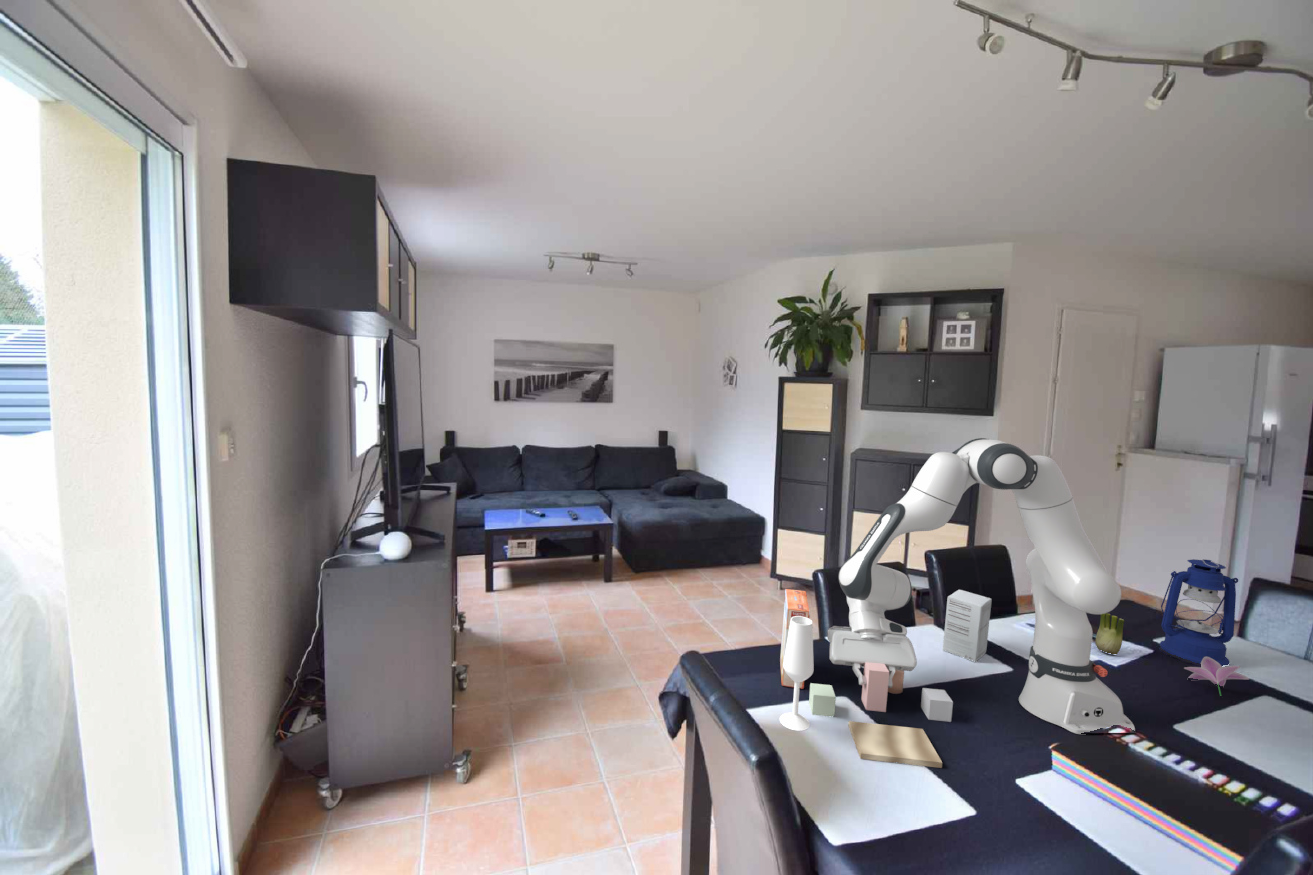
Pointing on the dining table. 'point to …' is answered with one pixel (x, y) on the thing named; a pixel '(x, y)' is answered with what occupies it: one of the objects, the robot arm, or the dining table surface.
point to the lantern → (1202, 586)
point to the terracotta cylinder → (897, 682)
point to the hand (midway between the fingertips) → (875, 685)
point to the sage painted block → (822, 700)
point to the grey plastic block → (936, 704)
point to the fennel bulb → (1109, 634)
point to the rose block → (875, 686)
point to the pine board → (893, 744)
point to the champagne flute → (798, 666)
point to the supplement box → (967, 624)
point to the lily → (1215, 672)
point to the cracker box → (792, 607)
